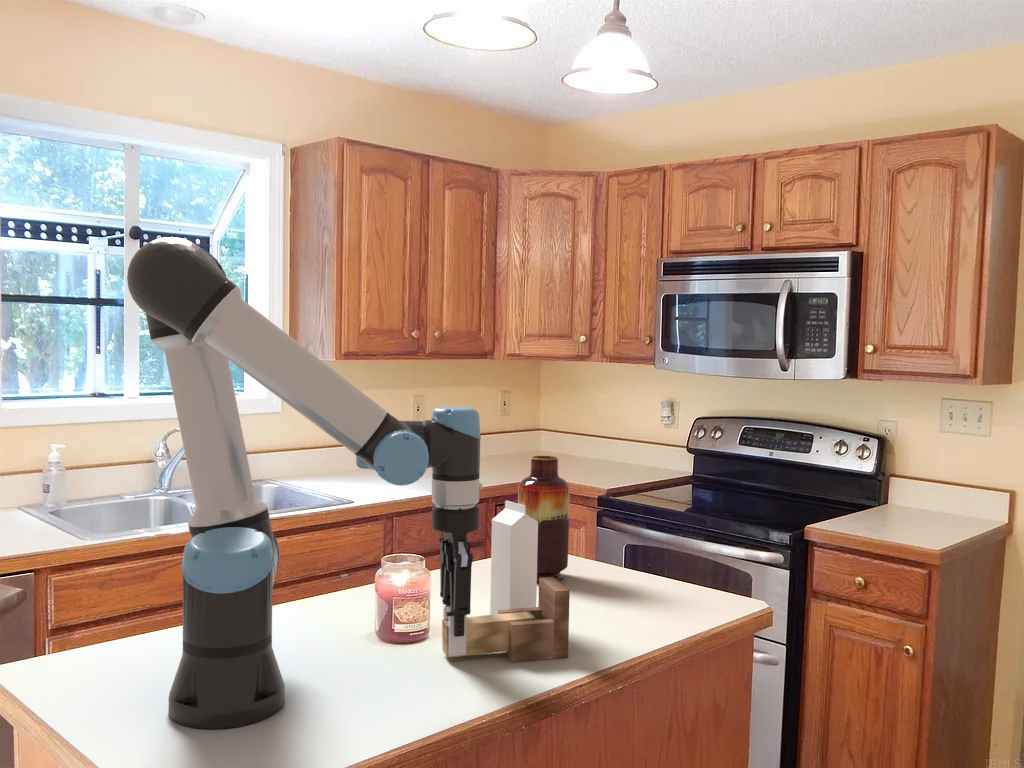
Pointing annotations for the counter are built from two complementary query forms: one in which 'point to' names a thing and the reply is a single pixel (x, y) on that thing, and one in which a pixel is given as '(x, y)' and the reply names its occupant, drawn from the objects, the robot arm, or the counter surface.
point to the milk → (513, 559)
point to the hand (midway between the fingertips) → (454, 649)
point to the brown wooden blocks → (542, 625)
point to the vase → (548, 514)
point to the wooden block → (486, 632)
